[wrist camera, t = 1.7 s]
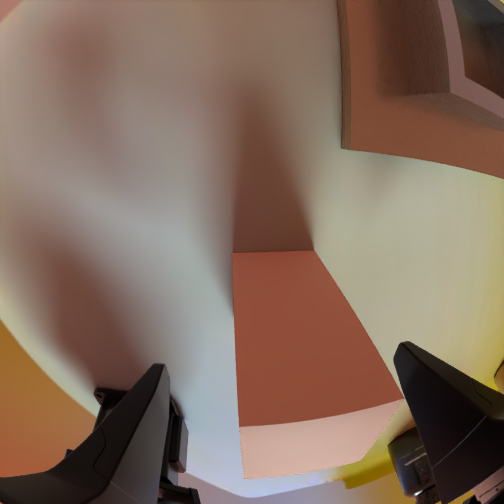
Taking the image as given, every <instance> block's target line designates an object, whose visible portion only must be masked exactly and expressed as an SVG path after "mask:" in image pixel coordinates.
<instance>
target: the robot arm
mask: <svg viewBox="0 0 504 504" xmlns="http://www.w3.org/2000/svg"><path fill="white" fill-rule="evenodd" d="M393 361H394V365H395V368H396V371H397V374H398V378H399V381H400V384H401V388H402V391H403V393H404V396H405V399H406V401H407V403H408V406H409V408H410V411H411V413H412V416H413V419H414V421H415V424H416V426H417V429H418V432H419V434H420V437H421V440H422V443H423V445H424V448H425V451H426V454H427V457H428V460H429V463H430V466H431V469H432V473H433V476H434V479H435V482H436V486H437V489H438V493H439V496H440V500H441V503H442V504H448V503H450V502H452V501H453V500H455V499H457V498H458V497H460V496H462V495H463V494H465V493H466V492H468V491H470V490H471V489H473V492H474V495H473V496H471V497H470V498H468V499H467V500H465V501H464V502H463V504H504V394H502V393H500V392H498V391H495V390H493V389H491V388H489V387H487V386H485V385H483V384H482V383H480V382H478V381H476V380H475V379H473V378H471V377H470V376H468V375H466V374H464V373H463V372H461V371H459V370H458V369H456V368H454V367H453V366H451V365H449V364H447V363H446V362H444V361H442V360H441V359H439V358H437V357H435V356H434V355H432V354H430V353H429V352H427V351H425V350H423V349H422V348H420V347H418V346H417V345H415V344H413V343H411V342H410V341H405V342H401V343H400V344H399V345H398V348H397V350H396V353H395V355H394V358H393ZM94 396H95V397H96V399H97V401H98V402H99V404H100V405H101V407H100V410H99V413H98V416H97V419H96V422H95V426H94V429H93V432H92V433H91V434H90V435H89V436H88V437H87V438H86V440H85V441H83V442H82V443H81V444H80V445H79V446H78V447H77V448H76V449H75V450H70V449H67V450H66V453H65V456H64V459H63V460H62V461H61V462H60V463H58V464H57V465H56V466H55V467H53V468H51V469H50V470H48V471H45V472H41V473H35V474H28V475H21V476H14V477H0V502H1V503H2V504H201V503H200V499H199V495H198V491H197V489H194V488H185V487H181V486H178V472H179V473H184V472H185V471H186V460H187V444H188V429H187V427H186V424H185V422H184V419H183V417H182V416H181V415H179V413H178V411H177V408H176V405H175V403H174V400H173V398H171V397H170V378H169V374H168V371H167V368H166V365H165V364H162V363H154V364H153V365H152V366H151V367H150V368H149V369H148V370H147V371H146V373H145V374H144V375H143V376H142V377H141V378H140V379H139V380H138V382H137V383H136V384H135V385H134V386H133V387H132V388H131V390H130V391H129V392H121V391H113V390H106V389H100V388H96V389H95V391H94Z"/></svg>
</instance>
